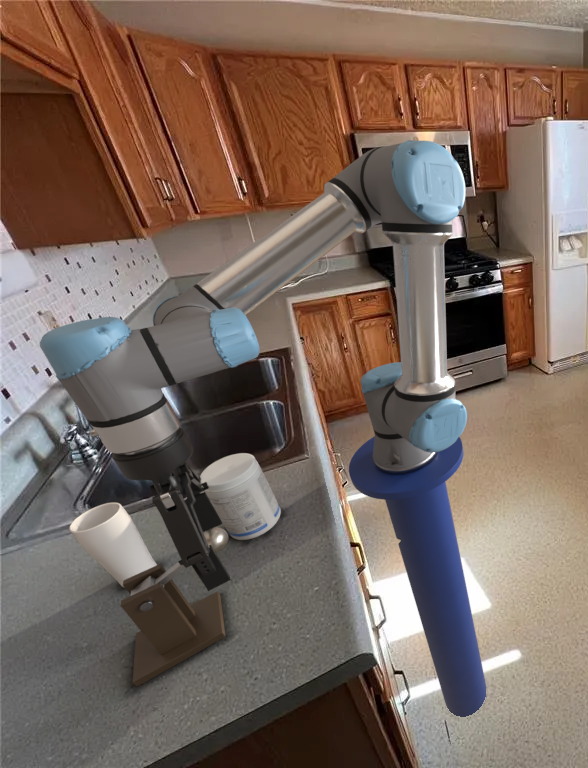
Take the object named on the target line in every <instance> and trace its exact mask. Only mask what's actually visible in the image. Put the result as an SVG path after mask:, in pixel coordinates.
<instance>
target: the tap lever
mask: <svg viewBox="0 0 588 768" xmlns="http://www.w3.org/2000/svg"><path fill="white" fill-rule="evenodd" d="M203 533H204V536H205V538H206V541H207V543H208V546H209V545H211V546H212V547H213V549H214V551H215V552H216V553H218V552H220V551H222V550H223V549H224V548H225V547H226V546H227V544H228V542H229V533H228V531H227V530H225V529H224V528H221V527H214V528H212V529H209V530H207V531H205V532H203ZM184 570H186V567H184V565H180V564H179V562H178V561H177V562H176V563H175V564H174V565H172V566H170V568H169V569H167V570H166V572H165V573H163V574H162V575H161V576H160V577H158V578H157V579H156V578H154V577H152V576H149V577H148V578H147V579H145V580H144V581H143V582H142V583H140V584H139V585H138V586H136V587H135V588H134V589H132V590H131V595H130V596H132V595H134V594H136V593H138V592H140V591H142V590H144V589H147V588H149V587H151V586H153V585H155V584H157V583H159V582H160V583H161V584H162V585H163V587H164V585H165V584H166V583H167V582H169V581H170V580H171V579H172V580H173V579H174V578H175V577H176V576H177V575H179V574H180V573H182V572H183V571H184Z"/></svg>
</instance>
